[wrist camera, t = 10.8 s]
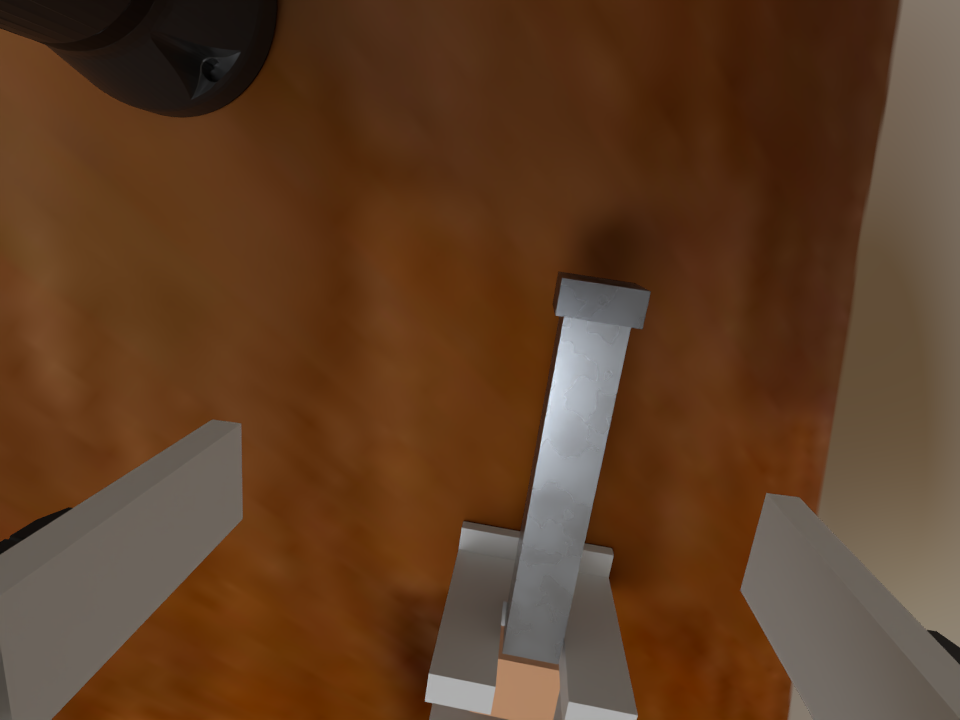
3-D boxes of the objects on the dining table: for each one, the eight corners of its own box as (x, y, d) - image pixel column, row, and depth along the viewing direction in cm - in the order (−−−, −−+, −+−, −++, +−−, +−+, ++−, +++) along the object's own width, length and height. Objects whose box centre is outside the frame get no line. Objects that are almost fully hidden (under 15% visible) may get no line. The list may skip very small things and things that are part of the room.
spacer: (479, 654, 38) (469, 711, 40) (563, 671, 38) (551, 728, 39) (486, 599, 44) (478, 650, 45) (560, 613, 44) (549, 664, 45)
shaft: (558, 271, 33) (561, 277, 28) (634, 283, 32) (650, 291, 28) (498, 608, 39) (493, 657, 34) (562, 620, 38) (566, 672, 34)
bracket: (463, 521, 44) (432, 644, 31) (611, 548, 43) (645, 686, 30) (437, 691, 48) (401, 864, 35) (572, 719, 47) (587, 905, 34)
